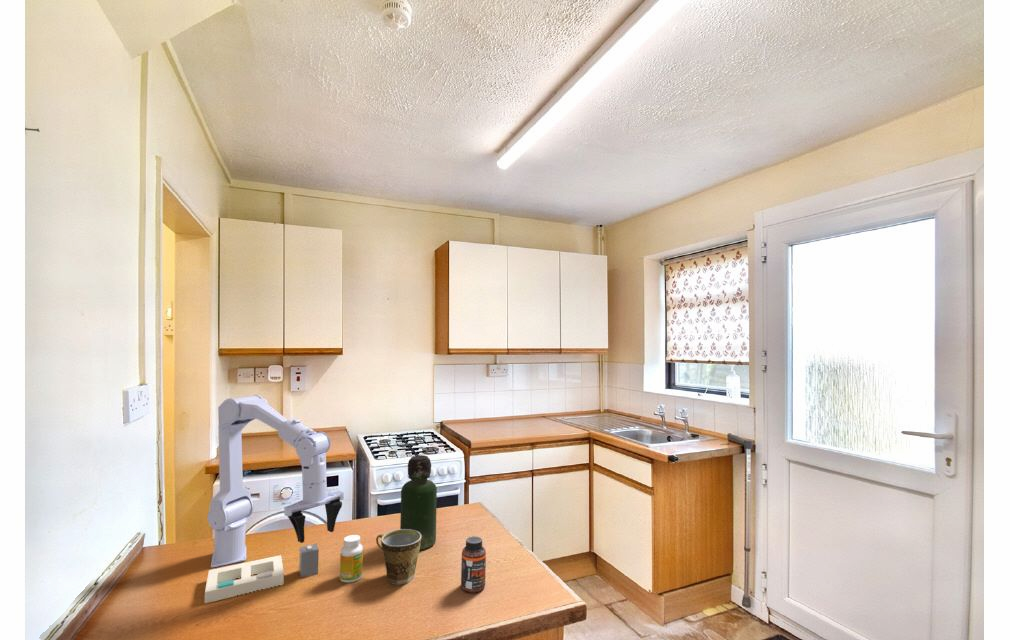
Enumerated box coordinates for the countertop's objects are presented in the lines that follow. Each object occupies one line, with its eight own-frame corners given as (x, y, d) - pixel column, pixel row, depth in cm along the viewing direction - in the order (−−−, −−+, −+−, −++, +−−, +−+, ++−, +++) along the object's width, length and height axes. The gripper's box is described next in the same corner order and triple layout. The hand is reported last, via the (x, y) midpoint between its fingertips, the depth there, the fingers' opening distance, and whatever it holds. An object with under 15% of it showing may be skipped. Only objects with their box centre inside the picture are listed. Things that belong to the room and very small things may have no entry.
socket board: (208, 580, 109) (208, 568, 109) (280, 564, 117) (281, 553, 117) (204, 603, 99) (205, 590, 99) (283, 584, 107) (283, 572, 107)
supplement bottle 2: (472, 597, 103) (473, 547, 103) (455, 587, 107) (456, 539, 107) (490, 586, 107) (491, 539, 108) (473, 577, 111) (474, 532, 112)
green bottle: (394, 541, 131) (396, 456, 132) (426, 532, 137) (427, 451, 139) (409, 555, 123) (410, 464, 124) (442, 545, 129) (443, 458, 130)
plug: (299, 570, 114) (300, 545, 114) (315, 566, 116) (316, 542, 116) (300, 577, 110) (301, 552, 111) (318, 573, 112) (318, 548, 113)
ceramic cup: (428, 572, 113) (429, 533, 114) (404, 592, 104) (405, 549, 105) (388, 561, 119) (389, 524, 119) (362, 579, 110) (363, 538, 110)
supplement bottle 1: (355, 584, 108) (356, 543, 108) (335, 581, 109) (336, 541, 109) (366, 573, 113) (367, 534, 113) (347, 570, 114) (348, 532, 114)
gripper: (292, 492, 105) (293, 550, 104) (348, 476, 116) (350, 529, 115) (280, 487, 109) (281, 543, 108) (335, 473, 120) (337, 524, 119)
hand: (316, 536), depth 112 cm, fingers open, 7 cm apart
